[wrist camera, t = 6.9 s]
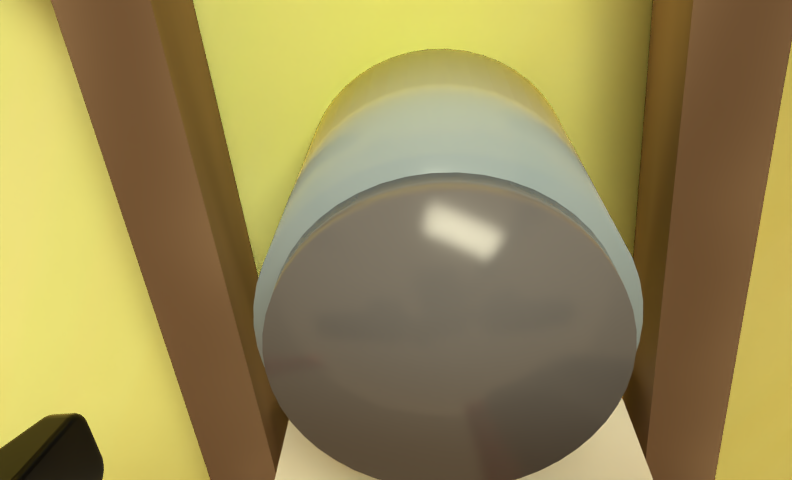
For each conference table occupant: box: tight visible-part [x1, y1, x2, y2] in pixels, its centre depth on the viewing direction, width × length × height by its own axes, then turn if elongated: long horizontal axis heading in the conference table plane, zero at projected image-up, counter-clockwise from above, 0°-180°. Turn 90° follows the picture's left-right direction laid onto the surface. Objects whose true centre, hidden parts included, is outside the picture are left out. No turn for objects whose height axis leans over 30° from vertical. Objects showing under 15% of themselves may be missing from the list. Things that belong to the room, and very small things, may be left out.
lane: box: [51, 0, 792, 480], centre depth 12 cm, size 15×20×5 cm
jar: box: [253, 49, 643, 480], centre depth 12 cm, size 6×6×6 cm
